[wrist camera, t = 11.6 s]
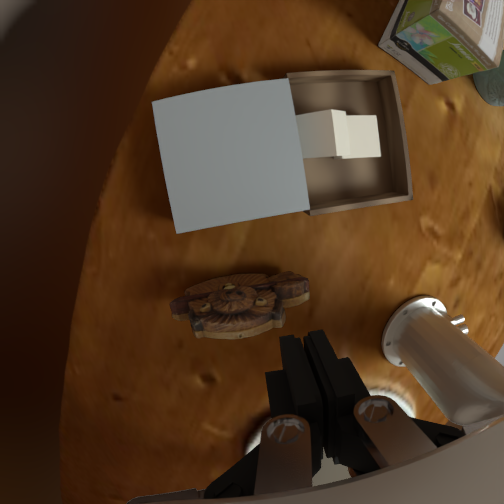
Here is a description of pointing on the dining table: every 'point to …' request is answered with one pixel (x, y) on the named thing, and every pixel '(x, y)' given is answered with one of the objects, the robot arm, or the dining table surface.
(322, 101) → the box
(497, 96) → the teal tapered cup
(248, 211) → the grey square block
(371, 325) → the dining table surface
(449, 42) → the tea box
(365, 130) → the cream square-faced block
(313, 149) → the cream upright block
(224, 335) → the wooden carving
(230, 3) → the dining table surface
